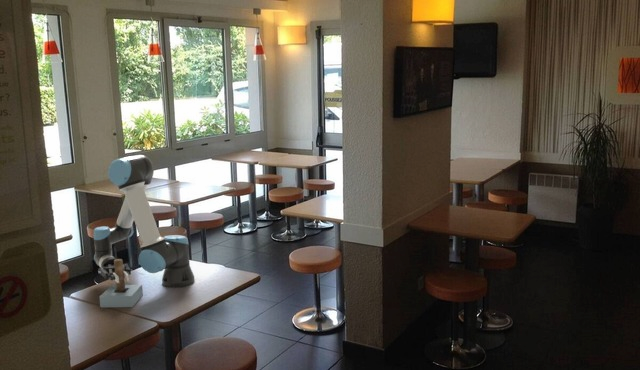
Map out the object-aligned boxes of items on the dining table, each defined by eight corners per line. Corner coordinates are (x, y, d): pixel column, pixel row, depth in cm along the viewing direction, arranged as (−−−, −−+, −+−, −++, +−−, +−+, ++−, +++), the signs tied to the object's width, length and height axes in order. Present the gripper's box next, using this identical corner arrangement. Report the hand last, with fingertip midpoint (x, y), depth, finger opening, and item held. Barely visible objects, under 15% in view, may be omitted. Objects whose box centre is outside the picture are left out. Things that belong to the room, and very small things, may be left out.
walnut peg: (126, 295, 257) (123, 258, 254) (124, 298, 254) (120, 261, 250) (119, 295, 257) (115, 259, 254) (116, 298, 254) (112, 261, 251)
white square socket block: (142, 294, 263) (141, 284, 262) (132, 307, 249) (131, 296, 248) (112, 295, 263) (111, 284, 262) (100, 307, 249) (99, 296, 248)
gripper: (128, 268, 274) (142, 283, 254) (91, 275, 265) (103, 291, 245) (126, 253, 272) (141, 266, 253) (89, 260, 263) (102, 274, 244)
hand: (123, 278), depth 249 cm, fingers closed on walnut peg, 3 cm apart
